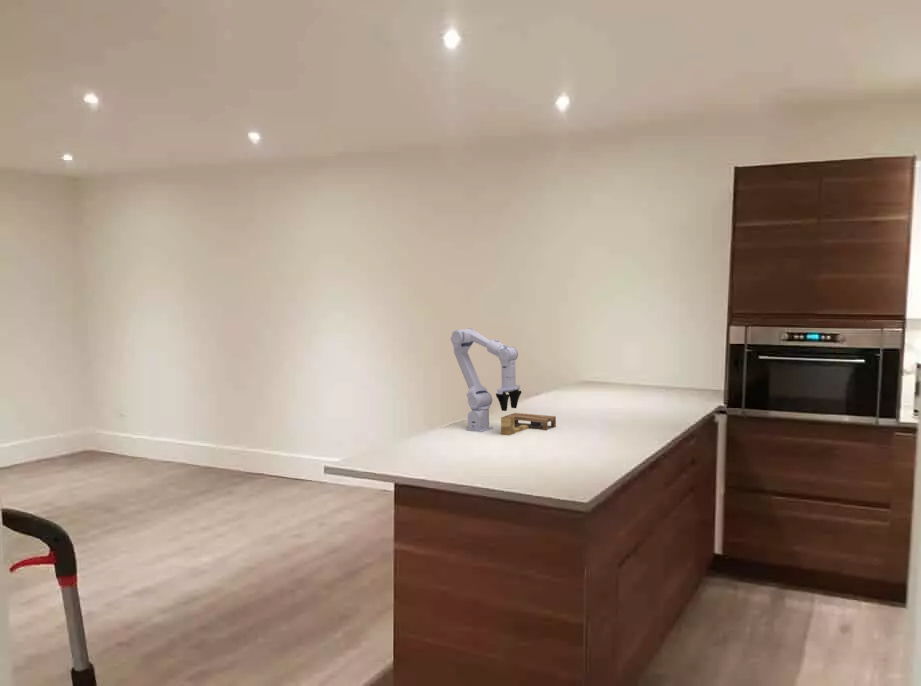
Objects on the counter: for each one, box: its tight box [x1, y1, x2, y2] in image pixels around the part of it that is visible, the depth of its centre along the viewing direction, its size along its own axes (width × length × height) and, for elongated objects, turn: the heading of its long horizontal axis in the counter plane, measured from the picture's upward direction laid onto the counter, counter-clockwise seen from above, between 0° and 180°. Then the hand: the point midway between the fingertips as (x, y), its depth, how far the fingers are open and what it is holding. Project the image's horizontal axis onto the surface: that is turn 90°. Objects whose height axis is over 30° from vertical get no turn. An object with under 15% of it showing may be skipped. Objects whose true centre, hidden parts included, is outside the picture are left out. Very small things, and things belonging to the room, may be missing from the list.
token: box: [530, 421, 543, 426], centre depth 329 cm, size 5×5×2 cm
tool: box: [500, 415, 530, 436], centre depth 313 cm, size 17×4×7 cm, turn 145°
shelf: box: [505, 412, 557, 431], centre depth 323 cm, size 9×20×4 cm, turn 55°
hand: (509, 409), depth 309 cm, fingers open, 7 cm apart
